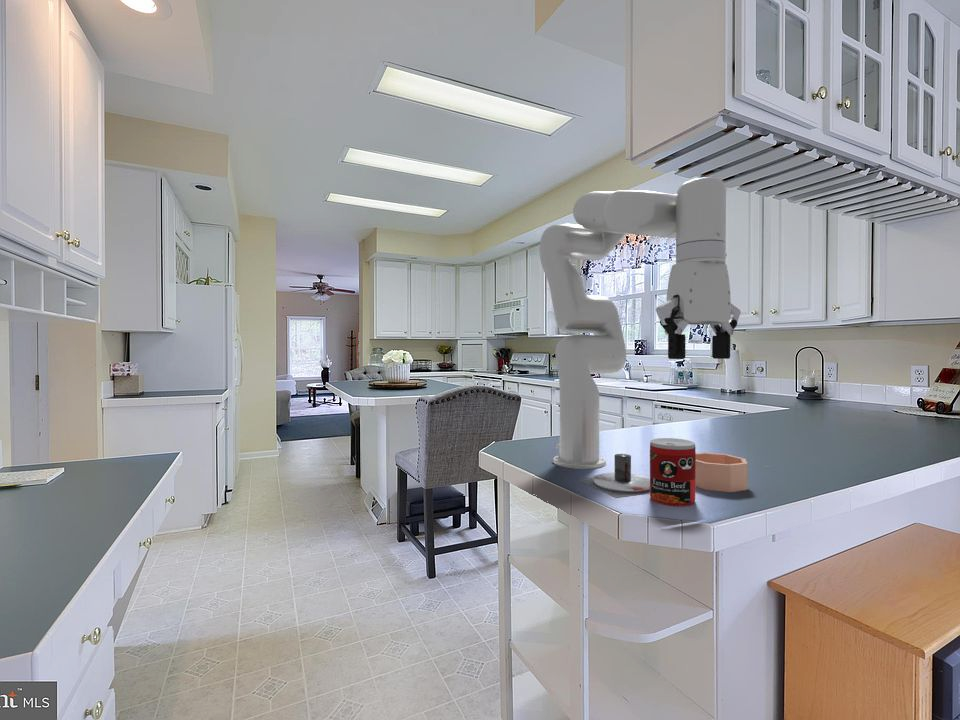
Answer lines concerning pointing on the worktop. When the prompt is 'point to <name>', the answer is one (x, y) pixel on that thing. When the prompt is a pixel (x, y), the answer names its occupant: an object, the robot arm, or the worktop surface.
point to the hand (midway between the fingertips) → (699, 358)
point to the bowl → (721, 472)
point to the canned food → (672, 471)
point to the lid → (622, 478)
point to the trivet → (614, 494)
